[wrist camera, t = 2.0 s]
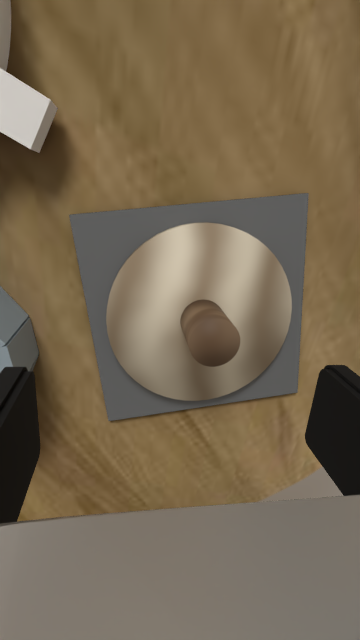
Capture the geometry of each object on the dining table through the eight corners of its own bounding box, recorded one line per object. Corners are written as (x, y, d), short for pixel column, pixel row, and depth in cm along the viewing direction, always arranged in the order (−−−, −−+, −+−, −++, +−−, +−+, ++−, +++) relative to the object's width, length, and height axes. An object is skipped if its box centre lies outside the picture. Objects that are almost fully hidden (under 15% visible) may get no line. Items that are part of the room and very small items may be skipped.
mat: (305, 193, 29) (308, 193, 29) (295, 389, 37) (297, 392, 36) (70, 214, 27) (69, 215, 27) (108, 418, 35) (108, 421, 34)
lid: (290, 213, 29) (328, 218, 24) (284, 382, 35) (312, 417, 30) (91, 232, 28) (82, 242, 22) (121, 406, 34) (119, 449, 28)
